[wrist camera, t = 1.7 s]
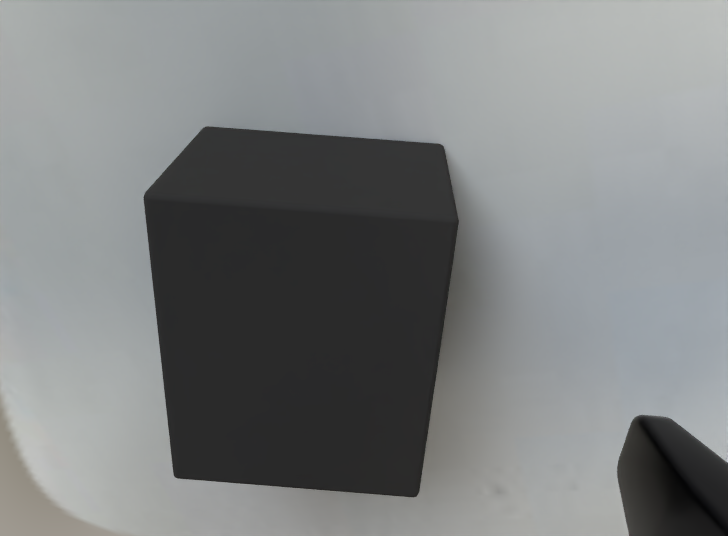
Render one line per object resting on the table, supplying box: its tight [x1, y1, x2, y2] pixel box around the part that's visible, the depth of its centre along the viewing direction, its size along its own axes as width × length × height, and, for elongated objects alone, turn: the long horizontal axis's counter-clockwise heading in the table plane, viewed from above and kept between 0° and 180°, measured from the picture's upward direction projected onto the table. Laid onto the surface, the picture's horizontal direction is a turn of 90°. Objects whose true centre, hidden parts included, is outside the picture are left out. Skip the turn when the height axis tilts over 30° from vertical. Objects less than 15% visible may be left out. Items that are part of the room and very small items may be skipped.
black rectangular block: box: [144, 127, 459, 497], centre depth 11 cm, size 5×4×3 cm
